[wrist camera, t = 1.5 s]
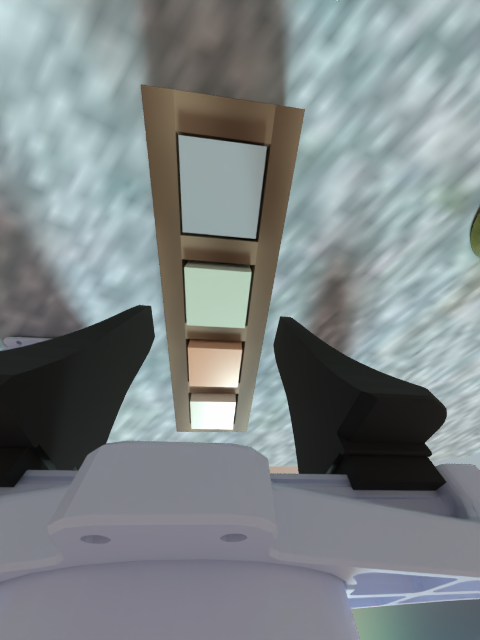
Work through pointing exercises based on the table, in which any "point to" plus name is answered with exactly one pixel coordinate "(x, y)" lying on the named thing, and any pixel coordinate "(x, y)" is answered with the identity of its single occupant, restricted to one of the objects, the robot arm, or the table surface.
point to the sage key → (216, 293)
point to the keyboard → (179, 247)
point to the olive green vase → (476, 236)
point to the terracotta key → (214, 362)
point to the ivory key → (212, 410)
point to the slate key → (220, 186)
